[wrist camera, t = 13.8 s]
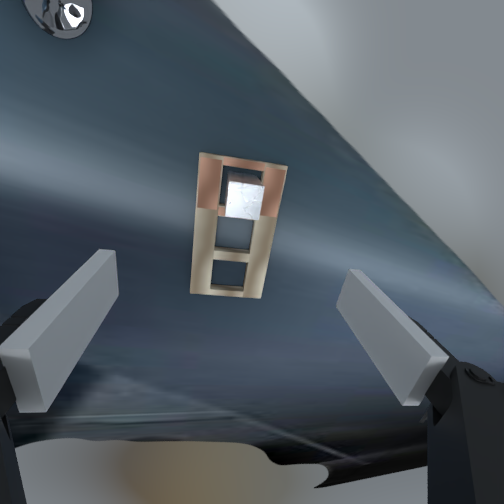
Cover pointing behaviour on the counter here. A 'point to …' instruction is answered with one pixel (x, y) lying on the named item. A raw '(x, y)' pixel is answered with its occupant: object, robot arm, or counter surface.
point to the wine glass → (60, 16)
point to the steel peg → (243, 195)
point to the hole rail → (211, 209)
